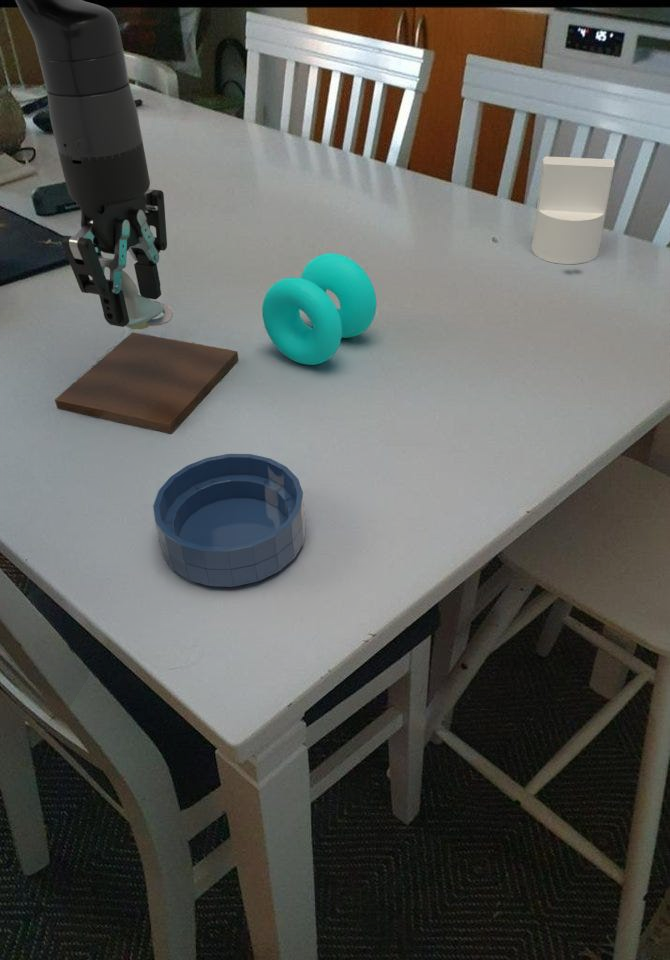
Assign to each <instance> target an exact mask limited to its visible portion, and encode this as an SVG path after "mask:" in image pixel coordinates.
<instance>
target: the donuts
mask: <svg viewBox="0 0 670 960" xmlns="http://www.w3.org/2000/svg"><path fill="white" fill-rule="evenodd" d="M327 291H330V292H331V293H333V295H335V296H336V298H337V300H338V302H339V308H338V307H336V306H337V305H336V304H335V303H334V301H333V300H332V298H331V297H330V296H329V295H328V293H327ZM261 310H262V320H263V324H264V329H265V331H266V332H267V336H269V339H270V340H271V342H272V343H273V345H274V346H275V347H276V348H277V349H278V350H279V352H281V353H282V355H284V356H286V357H287V358H288V359H290V360H292V361H293V362H296V363H298V364H301V365H307V366H317V365H320V364H322V363H325V362H327V361H328V360H330V359H331V358H332V357H333V356H334V355H335V354H336V353H337V350H338V349H339V347H340V345H341V341H342V339H348V338H350V339H351V338H354V337H357V336H360V335H361V334H363V333H364V332H365V331H366V330H368V328H370V326H371V324H372V323H373V322H374V319H375V316H376V311H377V296H376V291H375V287H374V285H373V283H372V280H371V279H370V277H369V276H368V274H367V272H366V271H365V269H363V268H362V267H361V265H359V264H358V263H357V262H356V261H355V260H353V259H352V258H350V257H348V256H345V255H344V254H339V253H334V252H328V253H322V254H319V255H317V256H315V257H313V258H312V259H310V261H309V262H308V263H307V264H306V266H305V267H304V268H303V270H302V272H301V275H300V277H285V278H282V279H280V280H278V281H276V282H275V283H274V284H272V285H271V286H270V288H269V289H268V290H267V291H266V293H265V296H264V298H263V302H262V309H261ZM300 311H302V312H303V313H304V314H305V315H306V316H307V318H308V319H309V321H310V323H311V327H310V326H309V325H307V324H306V323H305V322H304V321H303V319H302V317H301V313H300Z"/></svg>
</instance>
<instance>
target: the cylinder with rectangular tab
mask: <svg viewBox="0 0 670 960" xmlns="http://www.w3.org/2000/svg"><path fill="white" fill-rule="evenodd" d="M615 163H616V162H615V160H614V159H612V158H594V157H593V158H591V157H589V158H588V157H568V156H567V157H566V156H544V157H543V159H542V163H541V171H540V180H539V187H538V194H537V195H538V196H537V201H536V202H537V203H536V211H535V218H534V227H533V234H532V243H531V252H532V253H533V254H534V256H535V257H537V258H539V259H541V260H543V261H546V262H549V263H554V264H559V265H580V264H586V263H588V262H592V261H594V260H595V259H596V258H597V257H598V256H599V252H600V247H601V241H602V236H603V231H604V224H605V220H606V215H607V210H608V209H607V208H608V205H609V204H608V203H609V198H610V192H611V187H612V182H613V176H614V171H615V165H616V164H615Z"/></svg>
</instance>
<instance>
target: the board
mask: <svg viewBox="0 0 670 960" xmlns="http://www.w3.org/2000/svg"><path fill="white" fill-rule="evenodd" d="M238 362H239V351H237V350H232V349H226V348H221V347H216V346H211V345H205V344H199V343H193V342H190V341H189V342H188V341H183V340H178V339H172V338H166V337H160V336H154V335H151V334H150V335H149V334H144V333H138V332H131V333H129V334H128V335H127V336H126V337H125V338H123V340H122V341H120V342H119V343H118V344H117V345H115V347H113V348H112V349H111V350H110V351H109V352H108V353H107V354H105V355H104V356H103V357H102V358H101V359H100V360H98V361H97V362H95V364H94V365H92V366H91V367H90V368H89V369H88V370H87V371H86V372H85V373H83V374H82V375H81V376H80V377H78V378H77V379H76V381H74V382H73V383H72V384H71V385H69V386H68V387H67V388H66V389H65V390H63V392H62V393H60V394H59V395H58V396H57V397H56V398H55V399H54V401H55V405H56V409H58V410H62V411H68V412H71V413H76V414H79V415H85V416H90V417H94V418H99V419H103V420H108V421H113V422H115V423H116V422H117V423H121V424H126V425H130V426H134V427H138V428H144V429H148V430H152V431H157V432H161V433H162V432H163V433H166V434H171V435H172V434H173V433H174V432H175V431H176V429H178V427H179V426H180V425H181V424H182V423H183V422H184V421H185V420H186V419H187V418H188V416H189V415H190V414H191V413H193V411H194V410H195V409H196V407H197V406H199V405H200V403H202V401H203V400H204V399H205V398H206V397H207V396H208V395H209V393H210V392H211V391H212V390H213V389H214V388H215V387H216V386H217V385H218V383H219V382H220V381H221V380H222V379H223V378H224V377H225V376H226V375H227V374H228V373H229V372H230V370H231V369H232V368H234V366H235V365H236V364H237V363H238Z"/></svg>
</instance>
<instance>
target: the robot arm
mask: <svg viewBox="0 0 670 960" xmlns="http://www.w3.org/2000/svg"><path fill="white" fill-rule="evenodd" d="M14 1H15V3H16V5H17V7H18V9H19V11H20V13H21V15H22V17H23V19H24V21H25V24H26V26H27V28H28V30H29V32H30V34H31V36H32V38H33V41H34V45H35V51H36V53H37V57H38V62H39V65H40V70H41V74H42V78H43V82H44V86H45V87H44V88H45V91H46V97H47V102H48V103H47V104H48V111H49V113H48V114H49V119H50V124H51V128H52V133H53V137H54V141H55V146H56V149H57V153H58V157H59V161H60V165H61V170H62V175H63V178H64V182H65V186H66V190H67V194H68V196H69V197H70V198H71V199H72V201H74V202H75V203H76V205H78V207H79V209H80V214H81V215H80V216H81V217H80V229H79V231H77V232H76V233H75V235H73V236H72V235H64V236H62V237H63V238H62V240H61V244H62V247H63V250H64V252H65V255H66V257H67V260H68V262H69V266H70V267H71V270H72V271H73V275H74V277H75V280H76V282H77V285H78V287H79V289H80V291H81V293H83V294H92V295H98V296H99V300H100V304H101V309H102V313H103V317H104V320H105V321H106V323H108V324H109V325H111V326H115V327H121V328H125V327H126V325H127V324H128V323H129V317H128V312H127V308H126V303H125V299H124V294H123V290H121V272H122V270H124V269H125V268H126V267H127V254H128V253H127V252H129V254H130V255H131V257H132V259H133V260H134V261H135V263H133V266H134V272H135V276H136V281H137V288H138V292H139V295H140V296H142V297H145V298H148V299H150V300H157V299H159V298H160V297H161V296H162V290H161V289H162V288H161V281H160V280H161V279H160V274H159V270H158V263H159V261H160V252H161V251H163V252H164V251H166V249H167V248H168V236H167V221H166V220H167V219H166V208H165V194H164V192H163V190H161V189H153V188H150V186H151V180H150V175H149V170H148V164H147V163H148V162H147V157H146V152H145V147H144V141H143V136H142V131H141V125H140V119H139V114H138V113H139V112H138V108H137V105H136V102H135V99H134V95H133V92H132V89H131V85H130V79H129V73H128V67H127V64H126V63H127V62H126V57H125V52H124V48H123V47H124V46H123V41H122V40H123V39H122V35H121V29H120V27H119V24H118V20H117V18H116V16H115V15H114V13H113V12H112V11H111V10H110V9H108V8H107V7H104V6H102V5H99V4H96V3H92V2H88V1H85V0H14ZM151 227H154V228H155V236H154V234H153V232H152V230H151ZM102 253H104V254H110V255H114V256H113V258H108V257H104V256H103V255H102ZM105 268H108V269H109V279H107V278H106V275H105ZM90 277H91V278H92V279H91V278H90Z"/></svg>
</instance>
